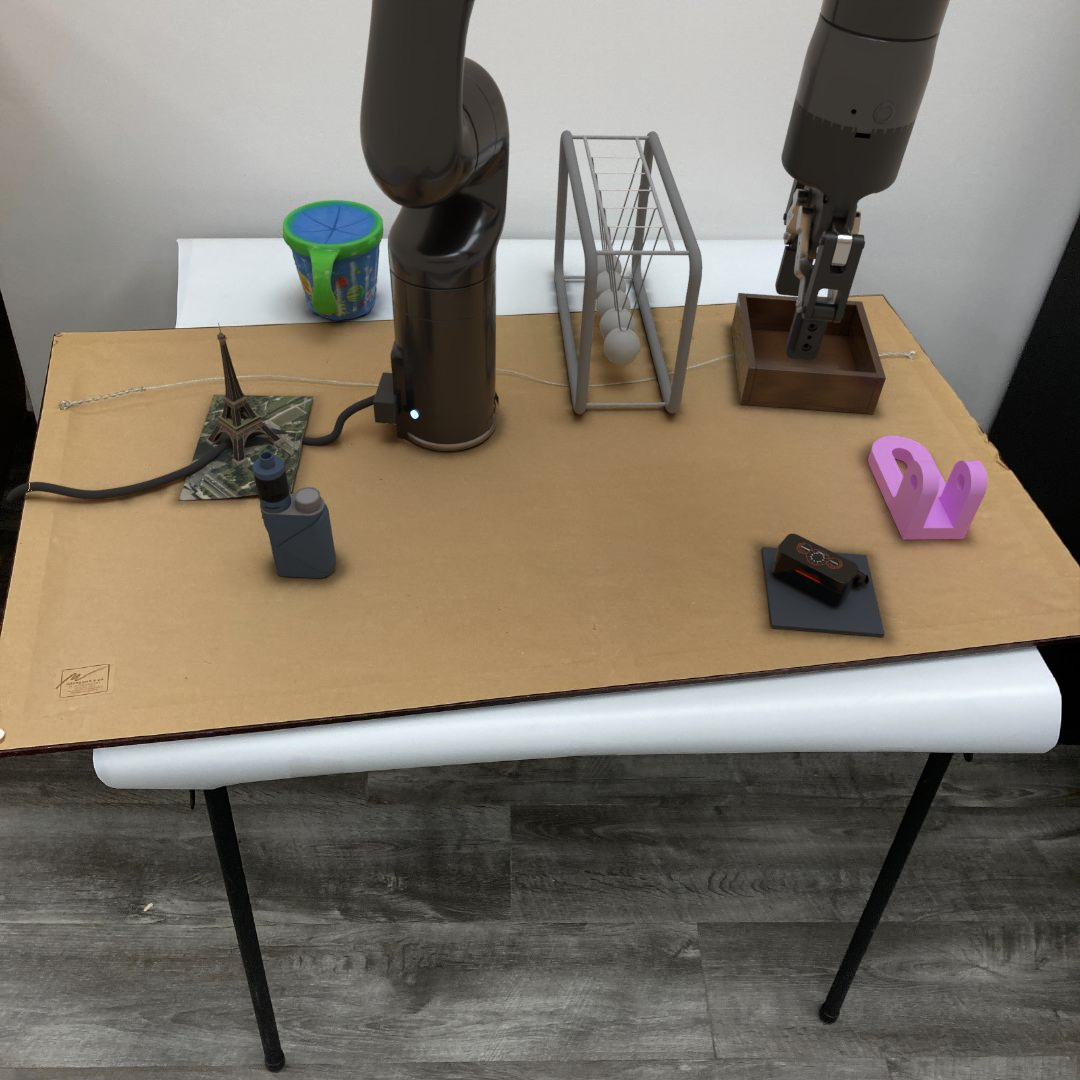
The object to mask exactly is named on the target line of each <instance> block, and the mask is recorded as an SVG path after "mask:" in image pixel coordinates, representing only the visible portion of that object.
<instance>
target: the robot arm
mask: <svg viewBox="0 0 1080 1080" xmlns="http://www.w3.org/2000/svg"><path fill="white" fill-rule="evenodd" d="M950 1H951V0H822V1H821V2H822V3H821V7H820V12H819V15H818V19H817V22H816V24H815V27H814V29H813V32H812V35H811V38H810V40H809V43H808V45H807V48H806V52H805V56H804V60H803V64H802V68H801V73H800V76H799V81H798V84H797V88H796V94H795V97H794V100H793V106H792V110H791V114H790V119H789V122H788V127H787V131H786V134H785V139H784V143H783V148H782V151H781V156H780V157H781V165H782V167H783V169H784V170H785V172H786V173H787V174H788V176H790V177H791V178H792V179H793V182H792V186H791V189H790V192H789V193H790V194H789V197H788V200H787V204H786V208H785V212H784V213H783V216H782V221H783V226H785V232H784V233H783V236H782V239H783V245H784V249H783V253H782V257H781V261H780V265H779V268H778V272H777V275H776V276H777V277H776V280H775V285H774V288H775V292H776V293H777V295H779V296H789V297H798V300H797V301H796V311H795V314H794V318H793V322H792V325H791V329H790V332H789V336H788V339H787V343H786V347H785V349H786V355H787V356H788V357H789V358H793V359H803V360H813V359H815V358H816V357H817V355H818V352H819V349H820V346H821V343H822V339H823V336H824V333H825V330H826V327H827V323H828V321H830V322H837V323H840V322H841V320H842V318H843V316H844V310H845V307H846V303H847V301H849V297H850V293H851V290H852V286H853V283H854V280H855V277H856V274H857V270H858V266H859V263H860V260H861V257H862V253H863V250H864V249H865V246H866V245H865V244H866V240H865V235H864V234H861V233H860V228H861V220H862V219H861V218H862V212H861V211H860V210H858V203H859V201H860V200H862V199H863V198H865V197H868V196H870V195H873V194H879V193H881V192H884V191H886V190H888V189H889V188H890V187H891V186H892V185H893V184H894V183H895V182H896V180H897V178H898V175H899V173H900V169H901V166H902V162H903V160H904V157H905V153H906V152H907V151H906V150H907V147H908V145H909V142H910V138H911V136H912V133H913V129H914V125H915V124H916V121H917V117H918V114H919V111H920V109H921V105H922V102H923V100H924V96H925V92H926V89H927V87H928V85H929V81H930V77H931V74H932V70H933V65H934V61H935V55H936V50H937V45H938V41H939V37H940V33H941V29H942V27H943V23H944V20H945V16H946V14H947V10H948V8H949V5H950ZM475 2H476V0H371V9H370V10H371V11H370V21H369V30H368V31H369V32H368V40H367V49H366V57H365V65H364V75H363V84H362V91H361V92H362V93H361V102H360V113H359V114H360V115H359V138H360V145H361V151H362V154H363V155H362V156H363V158H364V161H365V165H366V167H367V169H368V172H369V174H370V175H371V177H372V180H373V181H374V183H375V185H376V186H377V188H378V189H380V191H381V192H382V193H383V194H384V195H385V196H386V197H387V198H388V199H389V200H391V201H392V202H393V203H395V204H397V205H398V206H401V208H400V209H399V212H398V214H397V215H396V218H395V219H394V221H393V223H392V225H391V227H390V229H389V232H388V235H387V236H388V237H387V257H388V267H389V278H390V289H391V290H390V292H391V305H392V319H393V329H394V330H393V333H394V340H393V341H394V342H393V344H392V348H391V350H390V356H389V357H390V367H391V368H390V369H391V372H385V371H384V372H382V373H381V376H380V378H379V379H380V380H379V382H378V385H377V388H376V392H375V394H373V395H371V396H368V397H366V398H363V399H361V400H358V401H357V402H354V403H353V404H351V405H349V406H347V407H346V408H345V409H344V410H342V411H341V412H340V414H339V415H338V417H337V418H336V420H335V423H334V427H333V430H332V431H331V432H330V433H328V434H326V435H324V436H318V437H310V436H305V435H304V436H303V441H302V445H304V446H311V447H323V446H326V445H329V444H332V443H334V442H335V441H337V440H338V439H339V438H340V436H341V435H342V432H343V429H344V426H345V424H346V421H347V420H348V419H349V418H350V417H352V416H353V415H354V414H356V413H358V412H360V411H362V410H365V409H367V408H369V407H372V406H373V415H374V423H375V424H386V425H395V428H396V436H397V437H398V438H402V439H404V438H405V439H408V440H410V442H412V443H414V444H416V445H418V446H419V447H421V448H425V449H428V450H431V451H432V450H433V451H440V452H455V451H462V450H466V449H471V448H473V447H476V446H478V445H480V444H482V443H483V442H484V441H486V440H487V439H488V438H489V437H490V436H491V435H492V434H493V433H494V431H495V429H496V426H497V411H496V410H497V406H498V407H499V406H500V404H499V402H500V400H499V399H500V398H499V395H498V393H497V390H496V384H497V383H496V381H497V380H496V379H497V377H496V374H497V373H496V371H497V369H496V368H497V367H496V363H497V362H496V361H497V358H496V357H497V251H498V247H499V246H498V245H499V243H500V240H501V237H502V234H503V231H504V227H505V223H506V217H507V216H506V215H507V204H508V186H509V184H508V183H509V169H510V167H509V166H510V122H509V117H508V110H507V107H506V106H507V105H506V102H505V100H504V96H503V93H502V92H501V89H500V88H499V86H498V84H497V82H496V81H495V79H494V77H492V75H491V74H490V72H489V71H487V69H486V68H485V67H484V66H483V65H481V64H480V63H478V62H477V61H476V60H473V59H471V58H469V57H467V56H466V48H467V47H466V46H467V39H468V33H469V27H470V21H471V18H472V13H473V10H474V5H475ZM823 289H824V290H827V296H819V292H820V291H821V290H823ZM496 405H497V406H496ZM270 429H271V430H272V431H273V432H274V433H275V434H290V433H288V432H286V431H283V430H278V429H272V428H270ZM257 435H265V433H263V432H253V433H251V434H250V435H249V436H248V437H247V438H249V437H253V436H257ZM231 445H233V443H232V440H231V438H229V439H227V440H225V441H224V442H222V443H221V444H219V445H218V446H217V447H215V448H214V449H213V450H211V451H210V452H209V453H207V454H206V455H205V456H203V457H202V458H200V459H199V460H197V461H196V462H194V463H192V464H191V463H190V464H188V465H187V466H184V467H182V468H180V469H177V470H174V471H172V472H171V471H170V472H169V473H166V474H163V475H161V476H158V477H154V478H151V479H148V480H144V481H142V482H138V483H134V484H130V485H125V486H118V487H114V488H113V487H112V488H106V489H94V490H93V489H79V488H75V487H70V486H65V485H60V484H56V483H52V482H51V483H50V482H45V481H29V482H26V483H22V484H20V485H17V486H16V487H14V488H13V489H12V490H10V492H9V493H8V494H7V495H6V498H5V500H6V501H8V502H12V501H16V500H18V499H19V498H20V497H22V496H23V495H25V494H28V493H32V492H43V493H49V494H54V495H59V496H63V497H68V498H72V499H79V500H88V501H89V500H90V501H91V500H92V501H93V500H94V501H96V500H109V499H115V498H121V497H127V496H132V495H135V494H136V495H137V494H140V493H144V492H148V491H151V490H154V489H157V488H160V487H163V486H166V485H168V484H171V483H174V482H177V481H179V480H181V479H184V478H186V477H187V476H189V475H191V474H193V473H195V472H196V471H198V470H200V469H201V468H203V467H205V466H206V465H207V464H209V463H210V462H212V461H213V460H214V459H215V458H217V457H218V456H219V455H220V454H221V452H223V451H224V450H225V449H227V448H228V447H230V446H231ZM29 483H30V489H29ZM28 489H29V491H28ZM31 490H32V491H31Z"/></svg>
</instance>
